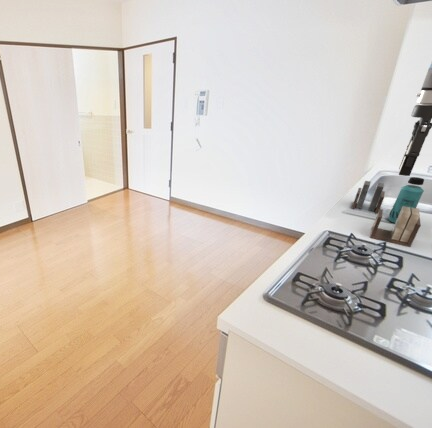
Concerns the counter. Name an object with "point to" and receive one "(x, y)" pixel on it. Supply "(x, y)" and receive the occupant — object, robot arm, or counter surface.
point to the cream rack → (399, 227)
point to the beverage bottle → (407, 197)
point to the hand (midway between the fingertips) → (404, 172)
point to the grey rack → (376, 198)
